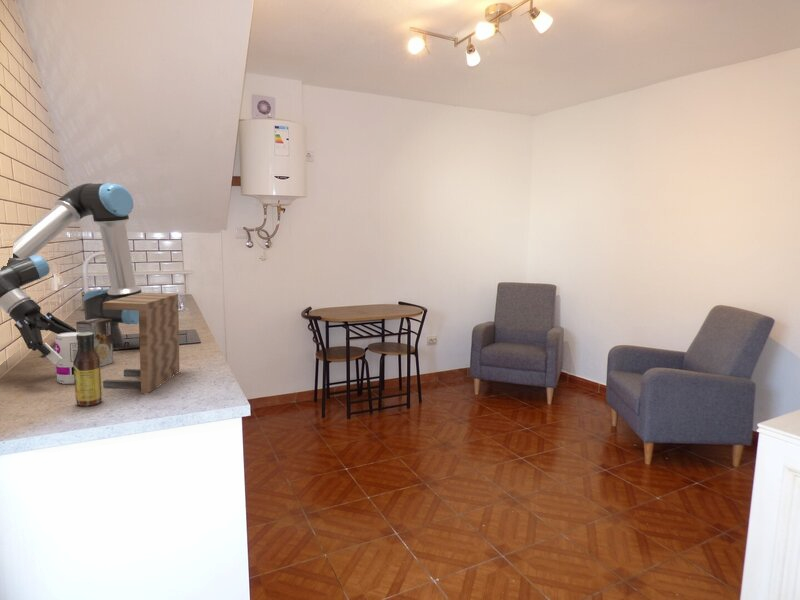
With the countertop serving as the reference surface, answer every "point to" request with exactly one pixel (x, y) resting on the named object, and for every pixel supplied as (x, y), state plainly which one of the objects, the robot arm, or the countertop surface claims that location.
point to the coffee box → (99, 337)
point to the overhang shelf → (151, 339)
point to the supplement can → (66, 356)
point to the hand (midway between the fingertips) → (72, 356)
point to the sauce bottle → (87, 371)
